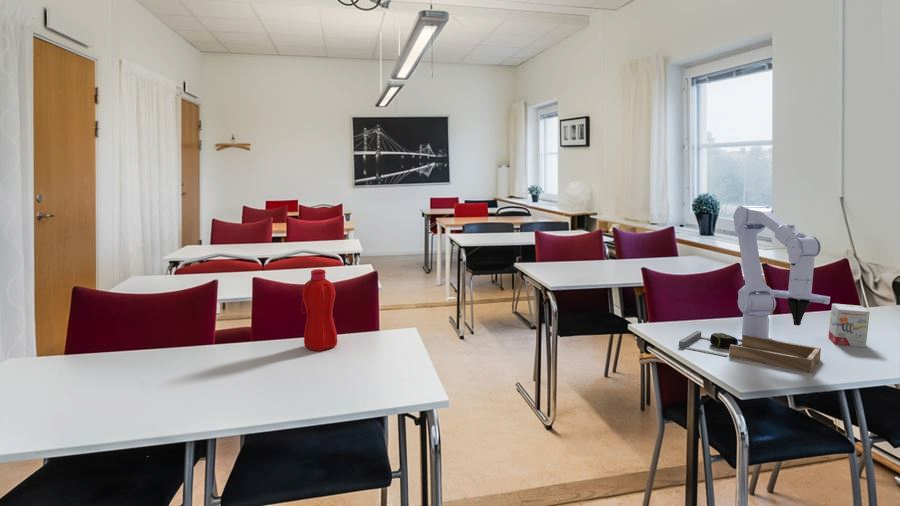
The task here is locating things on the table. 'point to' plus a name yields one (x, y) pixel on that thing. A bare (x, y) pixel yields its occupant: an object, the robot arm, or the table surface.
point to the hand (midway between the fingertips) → (797, 324)
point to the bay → (693, 338)
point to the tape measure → (722, 340)
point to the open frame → (776, 353)
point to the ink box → (848, 325)
